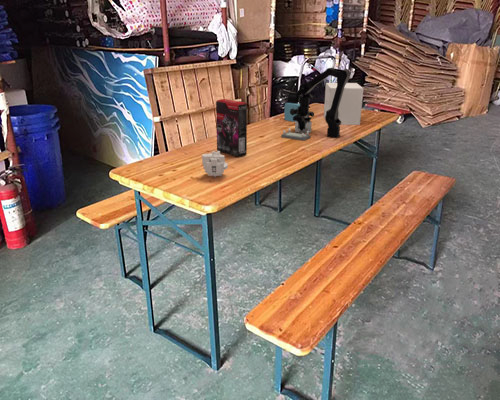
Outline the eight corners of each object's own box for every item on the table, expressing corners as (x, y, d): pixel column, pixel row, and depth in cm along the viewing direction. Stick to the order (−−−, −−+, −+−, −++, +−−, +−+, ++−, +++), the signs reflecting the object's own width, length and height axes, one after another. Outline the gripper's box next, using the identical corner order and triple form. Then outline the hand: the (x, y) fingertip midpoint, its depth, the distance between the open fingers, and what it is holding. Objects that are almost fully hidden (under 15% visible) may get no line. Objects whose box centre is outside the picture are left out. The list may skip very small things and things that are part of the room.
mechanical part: (228, 171, 205) (228, 147, 200) (226, 180, 193) (226, 155, 189) (204, 171, 205) (203, 146, 200) (201, 180, 194) (200, 154, 189)
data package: (302, 121, 304) (302, 104, 299) (298, 122, 300) (299, 105, 296) (287, 119, 311) (288, 102, 306) (284, 120, 307) (284, 102, 303)
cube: (323, 117, 319) (326, 82, 310) (353, 117, 318) (356, 83, 309) (327, 125, 296) (330, 88, 286) (359, 125, 295) (363, 88, 286)
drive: (311, 132, 275) (311, 121, 272) (307, 133, 271) (308, 122, 269) (298, 130, 279) (298, 119, 277) (294, 131, 276) (295, 120, 273)
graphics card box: (215, 151, 236) (214, 100, 225) (225, 148, 240) (224, 98, 230) (238, 157, 225) (238, 104, 214) (247, 155, 230) (248, 102, 219)
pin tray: (310, 137, 263) (310, 130, 262) (303, 140, 256) (304, 134, 255) (288, 134, 271) (288, 127, 269) (281, 137, 264) (281, 130, 262)
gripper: (299, 101, 280) (297, 125, 286) (285, 105, 265) (284, 131, 271) (315, 102, 275) (313, 127, 281) (302, 107, 260) (300, 133, 266)
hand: (303, 129), depth 275 cm, fingers closed on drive, 5 cm apart
